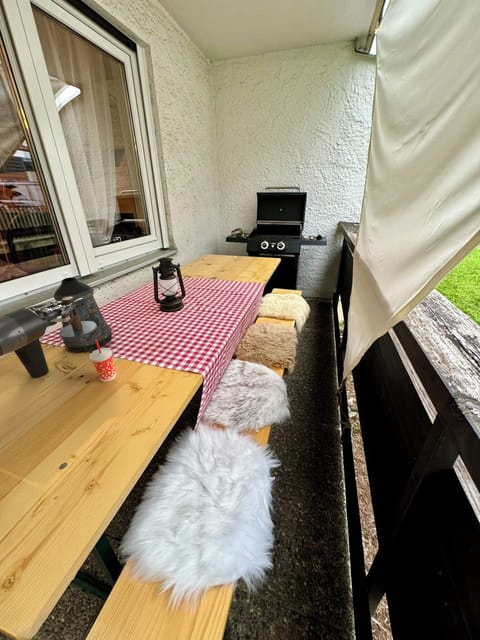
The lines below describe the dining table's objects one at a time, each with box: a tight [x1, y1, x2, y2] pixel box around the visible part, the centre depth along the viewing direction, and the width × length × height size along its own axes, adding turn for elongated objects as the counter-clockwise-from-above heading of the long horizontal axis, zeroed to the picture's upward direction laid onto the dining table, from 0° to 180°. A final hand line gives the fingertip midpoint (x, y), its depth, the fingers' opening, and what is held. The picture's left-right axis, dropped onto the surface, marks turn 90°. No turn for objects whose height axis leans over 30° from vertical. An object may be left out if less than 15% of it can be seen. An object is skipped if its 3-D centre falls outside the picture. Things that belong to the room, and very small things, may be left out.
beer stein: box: [53, 276, 113, 354], centre depth 95 cm, size 16×19×25 cm
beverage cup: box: [88, 339, 117, 383], centre depth 78 cm, size 6×6×14 cm
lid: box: [58, 297, 97, 340], centre depth 69 cm, size 9×9×10 cm
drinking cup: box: [13, 338, 50, 379], centre depth 79 cm, size 8×8×20 cm
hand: (79, 301), depth 70 cm, fingers closed on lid, 2 cm apart
